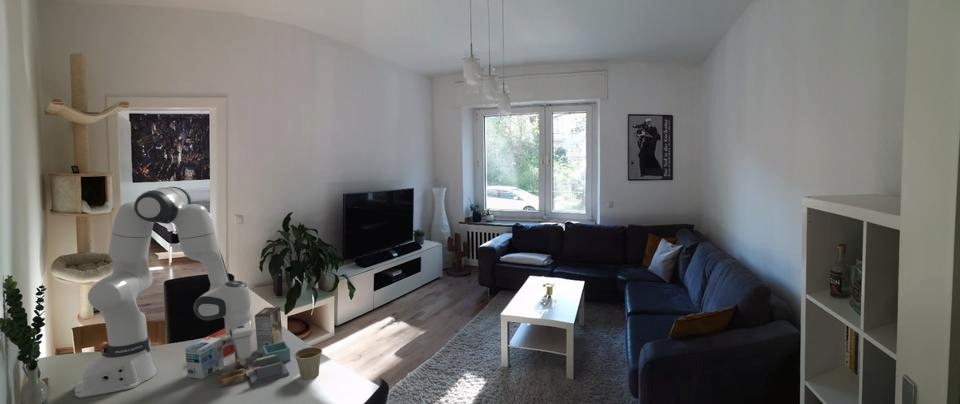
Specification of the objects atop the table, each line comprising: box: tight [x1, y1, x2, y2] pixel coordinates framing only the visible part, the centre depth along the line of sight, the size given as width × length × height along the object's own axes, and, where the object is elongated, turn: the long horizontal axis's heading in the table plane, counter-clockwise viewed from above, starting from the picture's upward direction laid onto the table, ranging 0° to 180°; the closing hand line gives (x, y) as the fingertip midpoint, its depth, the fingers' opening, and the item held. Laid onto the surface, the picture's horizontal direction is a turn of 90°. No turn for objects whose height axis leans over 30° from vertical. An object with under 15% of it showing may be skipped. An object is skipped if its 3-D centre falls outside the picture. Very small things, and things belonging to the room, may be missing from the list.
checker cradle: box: [247, 355, 290, 386], centre depth 163 cm, size 12×9×5 cm
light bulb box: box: [184, 336, 225, 379], centre depth 166 cm, size 11×7×11 cm, turn 168°
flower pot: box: [293, 346, 323, 380], centre depth 162 cm, size 9×9×9 cm
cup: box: [262, 340, 291, 364], centre depth 175 cm, size 8×8×5 cm
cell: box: [234, 351, 249, 371], centre depth 168 cm, size 4×4×8 cm
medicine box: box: [203, 328, 236, 359], centre depth 183 cm, size 15×8×8 cm, turn 163°
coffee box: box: [254, 306, 284, 354], centre depth 184 cm, size 9×6×16 cm
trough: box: [218, 368, 248, 388], centre depth 159 cm, size 8×5×2 cm, turn 125°
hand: (241, 360), depth 168 cm, fingers closed on cell, 4 cm apart
